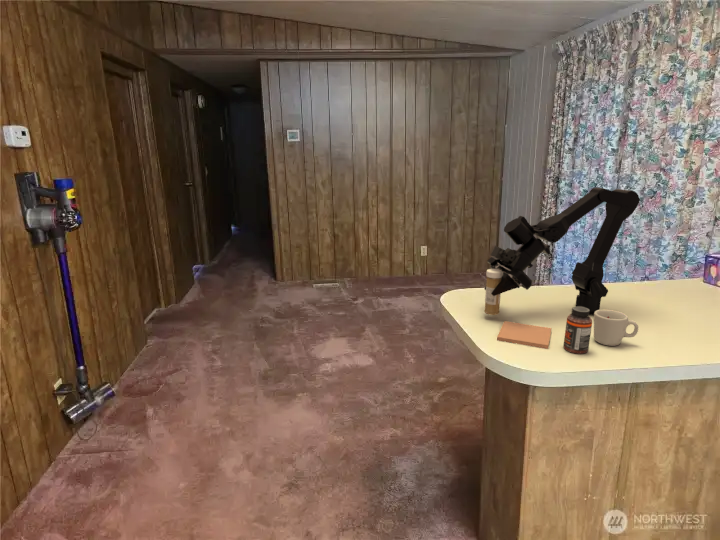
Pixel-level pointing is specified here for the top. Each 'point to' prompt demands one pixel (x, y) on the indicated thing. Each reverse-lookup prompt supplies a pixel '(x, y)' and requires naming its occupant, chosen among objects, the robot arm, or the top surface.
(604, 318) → the cup
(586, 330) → the supplement bottle
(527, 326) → the terracotta tile
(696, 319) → the top surface
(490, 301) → the sprinkles bottle
